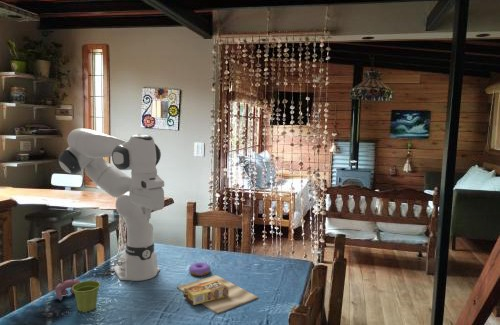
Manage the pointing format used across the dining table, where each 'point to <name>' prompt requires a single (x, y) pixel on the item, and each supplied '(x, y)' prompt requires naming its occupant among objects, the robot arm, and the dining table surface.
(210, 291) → the candy box
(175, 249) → the dining table surface
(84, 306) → the plant pot
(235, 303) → the wooden board
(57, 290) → the pink arch
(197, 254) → the dining table surface
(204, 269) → the donut
